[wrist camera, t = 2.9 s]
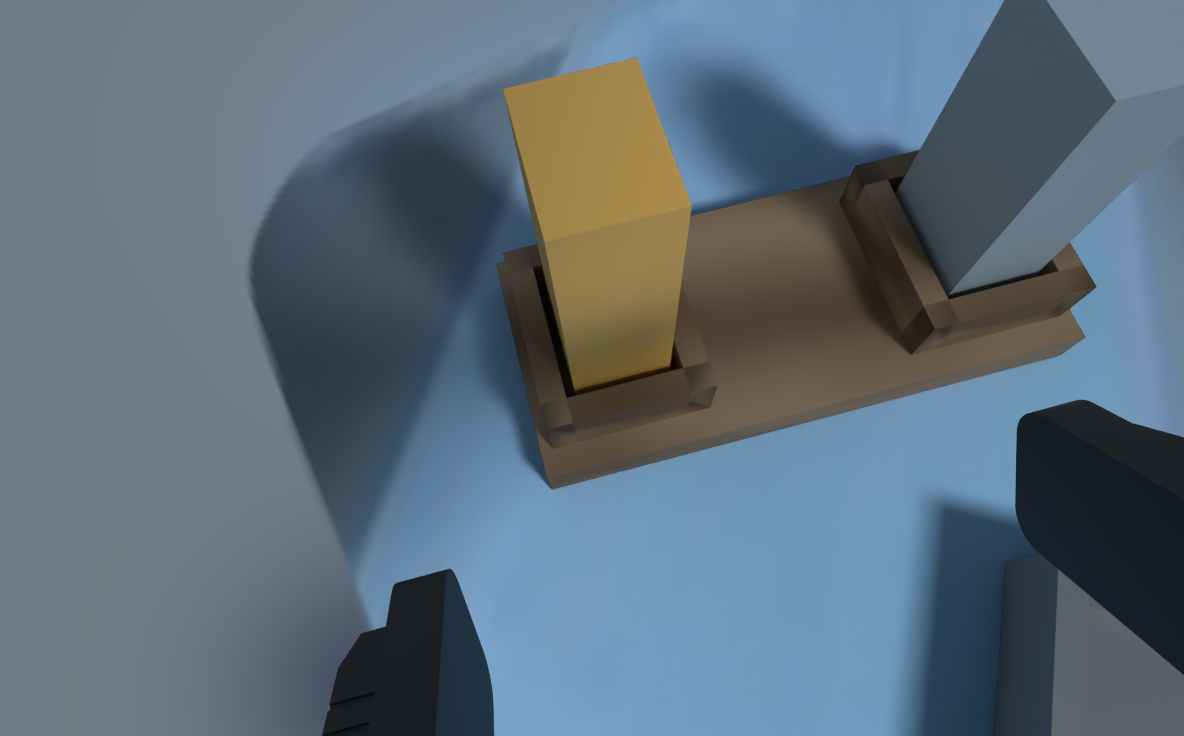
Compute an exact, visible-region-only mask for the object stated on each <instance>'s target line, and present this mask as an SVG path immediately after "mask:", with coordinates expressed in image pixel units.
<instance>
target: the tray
mask: <svg viewBox="0 0 1184 736" xmlns="http://www.w3.org/2000/svg"><path fill="white" fill-rule="evenodd" d="M994 736H1184V675H1183V674H1182V673H1181V672H1179V671H1178V670H1177V669H1176V668H1175V667H1173V666H1172V665H1171V664H1170V663H1169V662H1167V661H1166V660H1165V659H1164V658H1163V657H1162V656H1160V655H1159V654H1158V653H1157V652H1156V651H1154V650H1153V649H1152V648H1151V647H1150V646H1149V645H1147V644H1146V643H1145V642H1144V641H1143V640H1141V639H1140V638H1139V637H1138V636H1137V635H1135V634H1134V633H1133V632H1132V631H1131V630H1130V629H1128V628H1127V627H1126V626H1125V625H1124V624H1122V623H1121V622H1120V621H1119V620H1118V619H1117V618H1115V617H1114V616H1113V615H1112V614H1111V613H1109V612H1108V611H1107V610H1106V609H1105V608H1103V607H1102V606H1101V605H1100V604H1099V603H1098V602H1096V601H1095V600H1094V599H1093V598H1092V597H1090V596H1089V595H1088V594H1087V593H1086V592H1084V591H1083V590H1082V589H1081V588H1080V587H1079V586H1077V585H1076V584H1075V583H1074V582H1073V581H1071V580H1070V579H1069V578H1068V577H1067V576H1066V575H1064V574H1063V573H1062V572H1061V571H1060V570H1058V569H1057V568H1056V567H1055V566H1054V565H1052V564H1051V563H1050V562H1049V561H1048V560H1047V559H1045V558H1044V557H1043V556H1042V555H1041V554H1036V555H1032V556H1029V557H1025V558H1021V559H1017V560H1014V561H1010V562H1006V569H1005V583H1004V598H1003V613H1002V627H1001V642H1000V657H999V671H998V686H997V701H996V715H995V730H994Z"/></svg>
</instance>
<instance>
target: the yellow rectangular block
mask: <svg viewBox="0 0 1184 736" xmlns="http://www.w3.org/2000/svg"><path fill="white" fill-rule="evenodd" d="M503 91H504V96H505V100H506V105H507V109H508V114H509V118H510V123H511V127H512V132H513V136H514V141H515V145H516V150H517V155H518V159H519V164H520V168H521V173H522V177H523V182H524V186H525V191H526V195H527V200H528V204H529V209H530V213H531V218H532V222H533V227H534V231H535V236H536V241H537V245H538V250H539V254H540V259H541V263H542V268H543V272H544V277H545V281H546V286H547V290H548V295H549V299H550V304H551V307H552V311H553V315H554V319H555V323H556V326H557V330H558V334H559V338H560V342H561V345H562V349H563V353H564V357H565V360H566V364H567V368H568V372H569V376H570V379H571V383H572V387H573V391H574V395H575V396H577V395H580V394H584V393H588V392H592V391H596V390H600V389H604V388H608V387H612V386H615V385H619V384H623V383H627V382H631V381H635V380H639V379H643V378H646V377H650V376H654V375H658V374H662V373H666V372H669V370H670V362H671V355H672V347H673V340H674V333H675V325H676V318H677V311H678V303H679V296H680V289H681V281H682V274H683V266H684V259H685V252H686V244H687V237H688V230H689V222H690V215H691V208H692V205H691V202H690V199H689V197H688V194H687V191H686V189H685V186H684V183H683V181H682V178H681V175H680V173H679V170H678V167H677V164H676V162H675V159H674V156H673V154H672V151H671V148H670V146H669V143H668V140H667V138H666V135H665V132H664V129H663V127H662V124H661V121H660V119H659V116H658V113H657V111H656V108H655V105H654V103H653V100H652V97H651V94H650V92H649V89H648V86H647V84H646V81H645V78H644V76H643V73H642V70H641V68H640V65H639V62H638V60H637V58H633V59H629V60H624V61H620V62H616V63H611V64H607V65H603V66H599V67H594V68H590V69H586V70H582V71H577V72H573V73H569V74H565V75H560V76H556V77H552V78H548V79H543V80H539V81H535V82H530V83H526V84H522V85H518V86H513V87H509V88H505V89H503Z"/></svg>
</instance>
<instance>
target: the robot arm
mask: <svg viewBox="0 0 1184 736" xmlns="http://www.w3.org/2000/svg"><path fill="white" fill-rule="evenodd" d="M1015 506H1016V515H1017V519H1018V522H1019V525H1020V527H1021V529H1022V531H1023V533H1024V535H1025V537H1026V538H1027V540H1028V541H1029V543H1030V544H1031V545H1032V546H1033V548H1034V549H1035V550H1036V551H1037V552H1038V553H1039V554H1041V555H1042V556H1043V557H1044V558H1045V559H1047V560H1048V561H1049V562H1050V563H1051V564H1052V565H1054V566H1055V567H1056V568H1057V569H1058V570H1060V571H1061V572H1062V573H1063V574H1064V575H1066V576H1067V577H1068V578H1069V579H1070V580H1071V581H1073V582H1074V583H1075V584H1076V585H1077V586H1079V587H1080V588H1081V589H1082V590H1083V591H1084V592H1086V593H1087V594H1088V595H1089V596H1090V597H1092V598H1093V599H1094V600H1095V601H1096V602H1098V603H1099V604H1100V605H1101V606H1102V607H1103V608H1105V609H1106V610H1107V611H1108V612H1109V613H1111V614H1112V615H1113V616H1114V617H1115V618H1117V619H1118V620H1119V621H1120V622H1121V623H1122V624H1124V625H1125V626H1126V627H1127V628H1128V629H1130V630H1131V631H1132V632H1133V633H1134V634H1135V635H1137V636H1138V637H1139V638H1140V639H1141V640H1143V641H1144V642H1145V643H1146V644H1147V645H1149V646H1150V647H1151V648H1152V649H1153V650H1154V651H1156V652H1157V653H1158V654H1159V655H1160V656H1162V657H1163V658H1164V659H1165V660H1166V661H1167V662H1169V663H1170V664H1171V665H1172V666H1173V667H1175V668H1176V669H1177V670H1178V671H1179V672H1181V673H1182V674H1183V675H1184V438H1183V437H1180V436H1177V435H1173V434H1170V433H1166V432H1162V431H1159V430H1155V429H1151V428H1148V427H1144V426H1141V425H1137V424H1132V423H1130V422H1129V421H1127V420H1125V419H1123V418H1121V417H1119V416H1117V415H1115V414H1113V413H1111V412H1110V411H1108V410H1106V409H1104V408H1102V407H1100V406H1098V405H1096V404H1094V403H1092V402H1090V401H1087V400H1076V401H1072V402H1068V403H1065V404H1061V405H1057V406H1054V407H1050V408H1046V409H1043V410H1039V411H1035V412H1032V413H1028V414H1025V415H1024V416H1023V417H1022V418H1021V419H1020V421H1019V423H1018V427H1017V448H1016V501H1015ZM322 736H494V709H493V693H492V685H491V679H490V674H489V669H488V665H487V661H486V658H485V655H484V652H483V649H482V646H481V643H480V640H479V638H478V635H477V632H476V629H475V627H474V624H473V621H472V618H471V616H470V613H469V610H468V607H467V605H466V602H465V599H464V596H463V594H462V591H461V588H460V585H459V583H458V580H457V578H456V576H455V574H454V572H453V571H452V570H451V569H447V570H443V571H439V572H435V573H432V574H428V575H424V576H421V577H417V578H413V579H410V580H406V581H402V582H399V583H396V584H395V585H394V587H393V589H392V594H391V600H390V606H389V612H388V618H387V623H386V627H383V628H379V629H376V630H372V631H368V632H365V633H361V635H360V636H359V638H358V639H357V641H356V642H355V644H354V645H353V647H352V648H351V650H350V651H349V653H348V654H347V656H346V657H345V659H344V660H343V662H342V663H341V665H340V666H339V668H338V672H337V676H336V679H335V684H334V688H333V692H332V696H331V700H330V711H328V713H327V717H326V721H325V725H324V729H323V734H322Z"/></svg>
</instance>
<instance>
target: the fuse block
mask: <svg viewBox="0 0 1184 736" xmlns="http://www.w3.org/2000/svg"><path fill="white" fill-rule="evenodd" d="M919 151H920V150H918V151H914V152H910V153H906V154H902V155H898V156H894V157H890V158H886V159H882V160H878V161H874V162H870V163H866V164H862V165H858V166H855V168H854V170H853V172H852V174H851V176H850V177H846V178H842V179H838V180H834V181H830V182H826V183H822V184H818V185H814V186H810V187H806V188H802V189H798V190H794V191H790V192H785V193H781V194H777V195H773V196H769V197H765V198H761V199H757V200H753V201H749V202H745V203H741V204H737V205H733V206H729V207H725V208H721V209H717V210H713V211H709V212H704V213H700V214H696V215H692V216H690V222H689V230H688V237H687V244H686V252H685V259H684V266H683V274H682V281H681V289H680V296H679V303H678V311H677V318H676V325H675V333H674V340H673V347H672V355H671V362H670V370H669V372H666V373H662V374H658V375H654V376H650V377H646V378H643V379H639V380H635V381H631V382H627V383H623V384H619V385H615V386H612V387H608V388H604V389H600V390H596V391H592V392H588V393H584V394H580V395H577V396H575V395H574V391H573V387H572V383H571V379H570V376H569V372H568V368H567V364H566V360H565V357H564V353H563V349H562V345H561V342H560V338H559V334H558V330H557V326H556V323H555V319H554V315H553V311H552V307H551V304H550V299H549V295H548V290H547V286H546V281H545V277H544V272H543V268H542V263H541V259H540V254H539V250H538V245H533V246H529V247H525V248H520V249H516V250H512V251H508V252H504V253H503V254H504V258H505V262H502V263H498V264H496V265H497V269H498V274H499V278H500V282H501V286H502V290H503V295H504V299H505V303H506V307H507V312H508V316H509V320H510V324H511V328H512V333H513V337H514V341H515V345H516V350H517V354H518V358H519V362H520V366H521V371H522V375H523V379H524V383H525V388H526V392H527V396H528V400H529V405H530V409H531V413H532V417H533V421H534V426H535V430H536V434H537V438H538V443H539V447H540V451H541V455H542V459H543V464H544V468H545V472H546V476H547V480H548V482H549V484H550V486H551V489H556V488H560V487H564V486H567V485H571V484H575V483H579V482H582V481H586V480H590V479H594V478H598V477H601V476H605V475H609V474H613V473H617V472H620V471H624V470H628V469H632V468H635V467H639V466H643V465H647V464H651V463H654V462H658V461H662V460H666V459H670V458H673V457H677V456H681V455H685V454H688V453H692V452H696V451H700V450H704V449H707V448H711V447H715V446H719V445H723V444H726V443H730V442H734V441H738V440H741V439H745V438H749V437H753V436H757V435H760V434H764V433H768V432H772V431H776V430H779V429H783V428H787V427H791V426H794V425H798V424H802V423H806V422H810V421H813V420H817V419H821V418H825V417H829V416H832V415H836V414H840V413H844V412H847V411H851V410H855V409H859V408H863V407H866V406H870V405H874V404H878V403H882V402H885V401H889V400H893V399H897V398H900V397H904V396H908V395H912V394H916V393H919V392H923V391H927V390H931V389H935V388H938V387H942V386H946V385H950V384H953V383H957V382H961V381H965V380H969V379H972V378H976V377H980V376H984V375H988V374H991V373H995V372H999V371H1003V370H1006V369H1010V368H1014V367H1018V366H1022V365H1025V364H1029V363H1033V362H1037V361H1040V360H1044V359H1048V358H1052V357H1056V356H1059V355H1061V354H1063V353H1064V352H1065V351H1067V350H1068V349H1070V348H1071V347H1072V346H1074V345H1075V344H1077V343H1078V342H1079V341H1081V340H1082V339H1084V338H1085V335H1084V334H1083V332H1082V330H1081V328H1080V327H1079V325H1078V323H1077V322H1076V320H1075V318H1074V316H1073V315H1072V313H1071V311H1070V308H1071V307H1072V306H1074V305H1075V304H1076V303H1077V302H1079V301H1080V300H1081V299H1082V298H1084V297H1085V296H1086V295H1087V294H1089V293H1090V292H1091V291H1092V290H1093V289H1095V288H1096V285H1095V283H1094V282H1093V280H1092V278H1091V277H1090V275H1089V273H1088V272H1087V270H1086V268H1085V267H1084V265H1083V263H1082V262H1081V260H1080V258H1079V257H1078V255H1077V253H1076V252H1075V250H1074V248H1073V247H1072V245H1071V243H1070V242H1069V243H1068V244H1067V245H1066V246H1065V247H1064V248H1063V249H1062V250H1061V251H1060V252H1059V253H1058V254H1057V255H1056V256H1054V257H1053V258H1052V259H1051V260H1050V261H1049V262H1048V263H1047V264H1046V265H1045V266H1044V267H1043V268H1042V269H1041V270H1040V271H1039V272H1038V273H1037V274H1036V275H1035V276H1034V277H1033V278H1030V279H1026V280H1023V281H1019V282H1015V283H1011V284H1007V285H1003V286H999V287H995V288H992V289H988V290H984V291H980V292H976V293H972V294H968V295H964V296H961V297H957V298H953V299H949V300H948V298H947V296H946V294H945V292H944V290H943V288H942V286H941V284H940V282H939V280H938V278H937V276H936V274H935V272H934V270H933V268H932V266H931V264H930V262H929V260H928V258H927V256H926V254H925V252H924V250H923V248H922V246H921V244H920V242H919V240H918V238H917V236H916V234H915V232H914V230H913V229H912V227H911V225H910V223H909V221H908V219H907V217H906V215H905V213H904V211H903V209H902V207H901V205H900V203H899V201H898V199H897V197H896V195H895V193H896V191H897V189H898V188H899V186H900V184H901V182H902V181H903V179H904V177H905V175H906V174H907V172H908V170H909V168H910V167H911V165H912V163H913V161H914V159H915V158H916V156H917V154H918V152H919Z"/></svg>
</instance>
